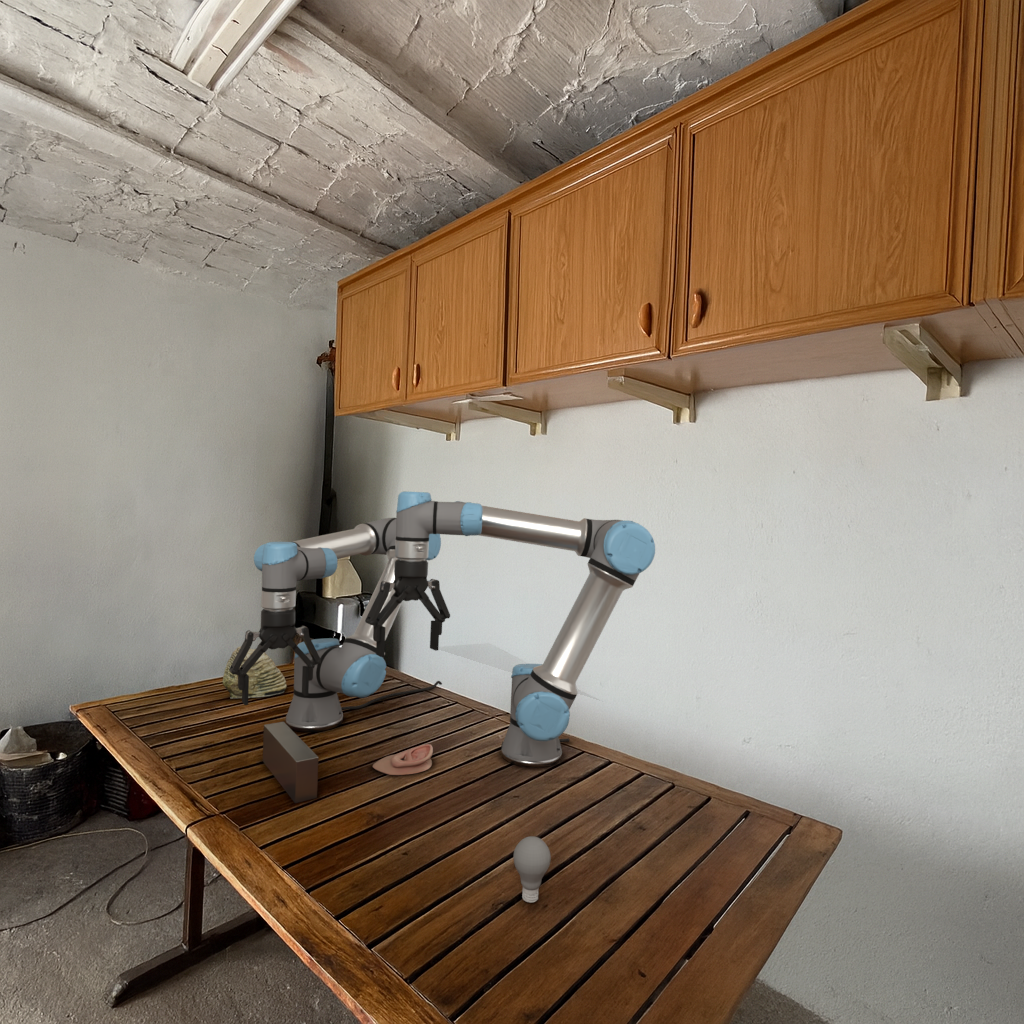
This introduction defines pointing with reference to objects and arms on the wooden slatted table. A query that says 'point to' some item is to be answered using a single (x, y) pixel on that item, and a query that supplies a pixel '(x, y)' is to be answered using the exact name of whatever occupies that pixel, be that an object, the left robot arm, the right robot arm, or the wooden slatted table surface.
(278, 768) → the bar
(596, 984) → the wooden slatted table surface
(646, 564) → the right robot arm
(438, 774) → the wooden slatted table surface
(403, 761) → the anatomical model
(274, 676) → the fossil
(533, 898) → the light bulb
